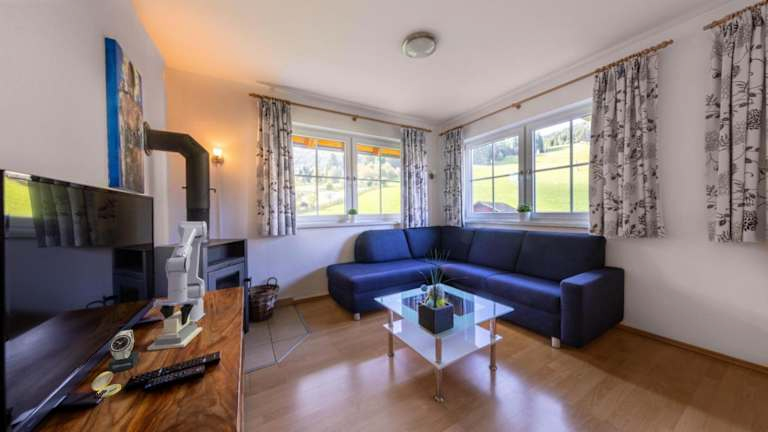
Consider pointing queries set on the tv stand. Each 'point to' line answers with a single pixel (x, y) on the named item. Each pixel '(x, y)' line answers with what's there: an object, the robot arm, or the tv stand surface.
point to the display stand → (176, 337)
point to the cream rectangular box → (174, 323)
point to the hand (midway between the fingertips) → (177, 324)
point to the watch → (123, 352)
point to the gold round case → (105, 384)
